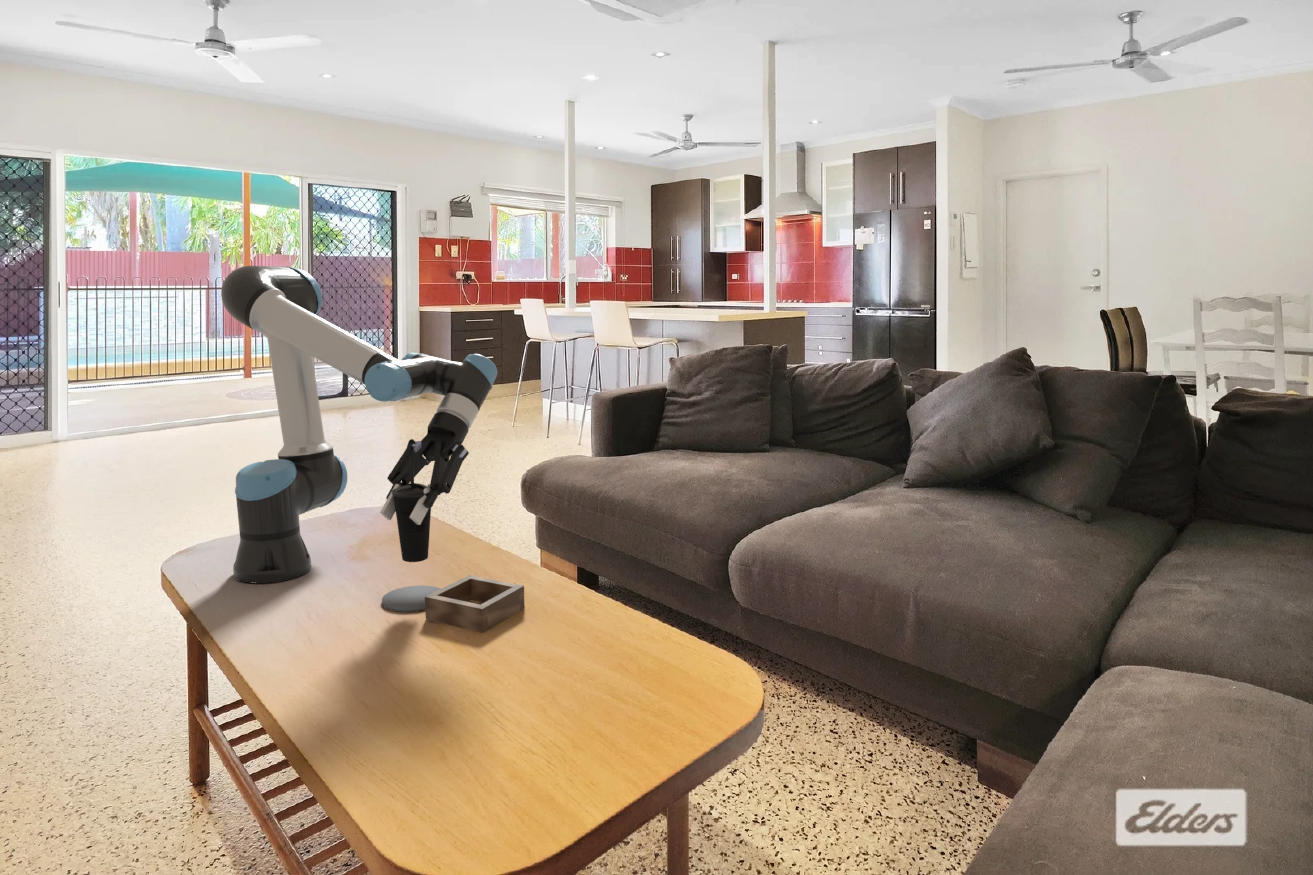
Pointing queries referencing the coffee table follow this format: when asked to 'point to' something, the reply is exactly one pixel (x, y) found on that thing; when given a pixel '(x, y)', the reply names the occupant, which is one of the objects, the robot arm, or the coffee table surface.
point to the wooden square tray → (459, 612)
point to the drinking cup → (410, 533)
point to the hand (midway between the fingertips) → (399, 518)
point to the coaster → (407, 598)
